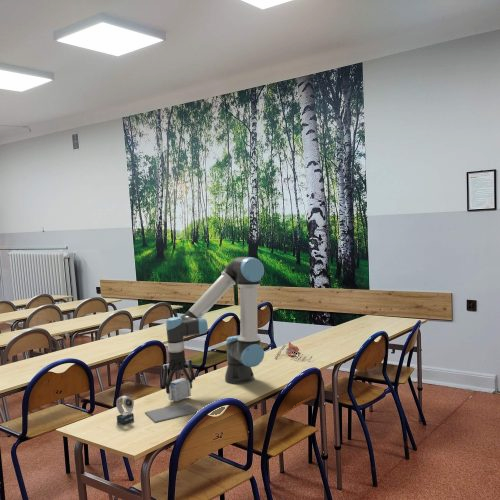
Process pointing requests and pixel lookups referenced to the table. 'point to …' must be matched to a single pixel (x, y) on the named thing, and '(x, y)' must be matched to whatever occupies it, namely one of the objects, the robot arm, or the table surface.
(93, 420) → the table surface
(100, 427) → the table surface
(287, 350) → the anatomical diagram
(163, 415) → the mat
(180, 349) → the robot arm
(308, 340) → the table surface
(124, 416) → the watch
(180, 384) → the medicine box
